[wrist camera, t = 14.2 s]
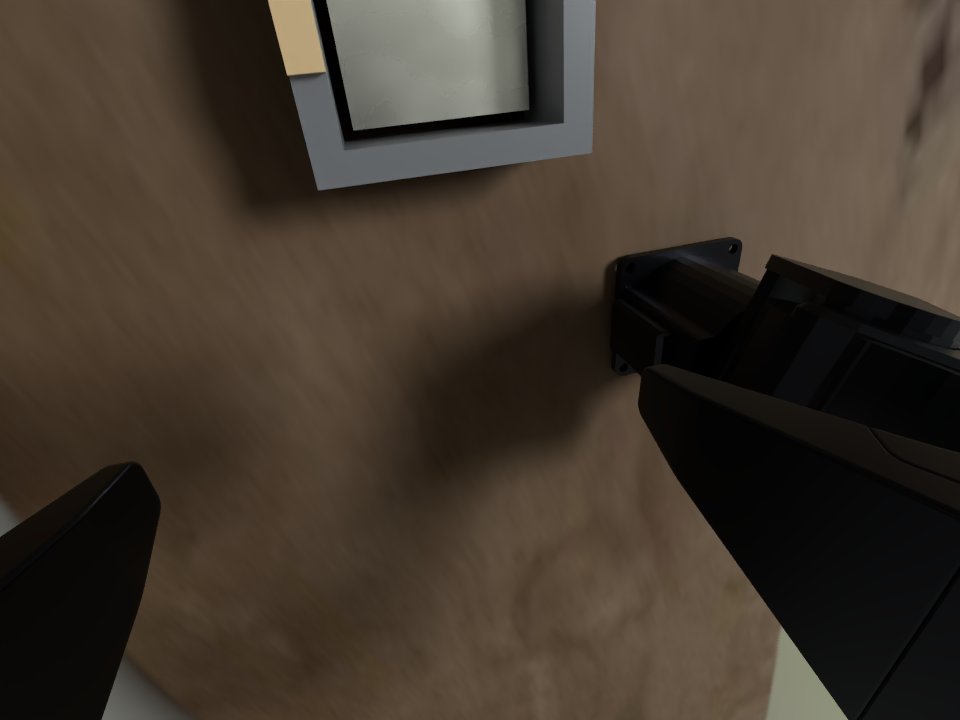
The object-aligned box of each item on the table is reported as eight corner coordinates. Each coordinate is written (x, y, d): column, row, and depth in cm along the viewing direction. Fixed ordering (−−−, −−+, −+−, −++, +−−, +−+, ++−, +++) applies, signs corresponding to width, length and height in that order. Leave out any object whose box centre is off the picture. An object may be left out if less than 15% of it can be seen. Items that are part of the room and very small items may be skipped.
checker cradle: (543, -171, 15) (609, -265, 11) (548, 143, 19) (597, 153, 15) (240, -166, 13) (198, -272, 9) (323, 173, 18) (317, 192, 14)
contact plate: (505, -112, 15) (520, -132, 14) (516, 109, 18) (529, 109, 17) (305, -104, 14) (300, -125, 13) (352, 128, 17) (353, 130, 16)
